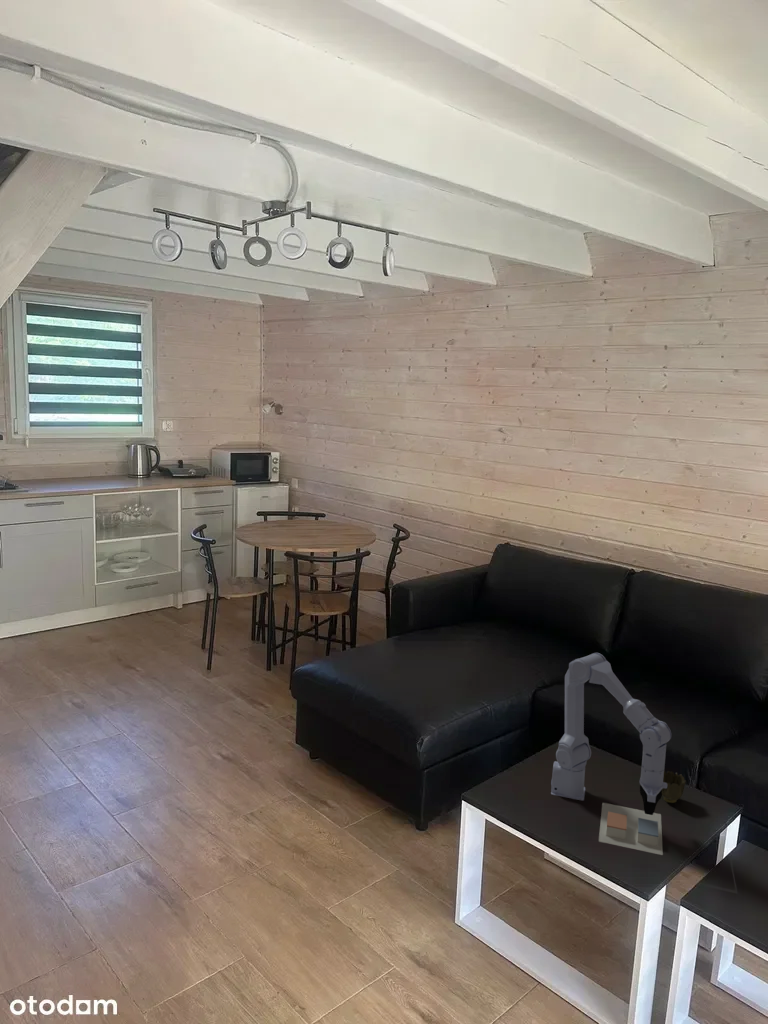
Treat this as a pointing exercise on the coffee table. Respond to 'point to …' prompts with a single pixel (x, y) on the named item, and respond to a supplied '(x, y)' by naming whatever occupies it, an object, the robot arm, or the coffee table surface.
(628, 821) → the mat
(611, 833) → the slab
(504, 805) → the coffee table surface
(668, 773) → the cup
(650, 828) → the slab
